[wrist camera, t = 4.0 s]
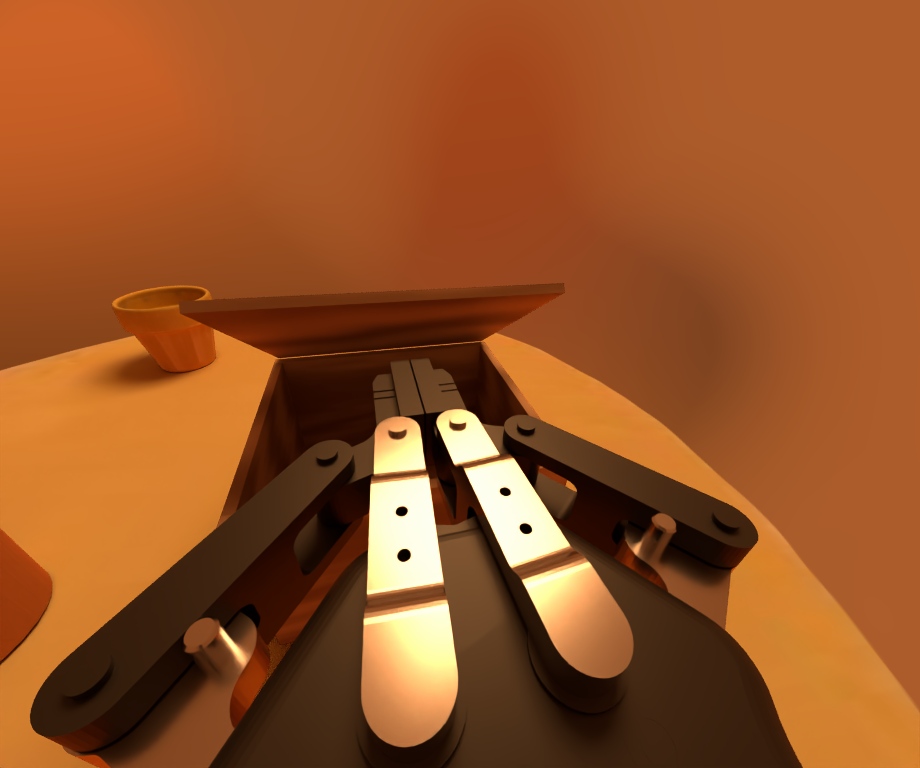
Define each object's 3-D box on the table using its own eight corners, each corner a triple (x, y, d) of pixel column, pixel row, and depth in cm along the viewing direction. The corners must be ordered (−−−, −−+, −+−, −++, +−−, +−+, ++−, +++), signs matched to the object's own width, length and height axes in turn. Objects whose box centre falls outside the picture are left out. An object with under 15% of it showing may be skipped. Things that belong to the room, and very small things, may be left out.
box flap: (564, 292, 18) (563, 283, 18) (179, 313, 14) (178, 301, 14) (481, 340, 33) (480, 335, 33) (279, 358, 29) (278, 352, 29)
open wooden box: (539, 577, 27) (572, 462, 20) (280, 644, 22) (216, 527, 16) (476, 438, 40) (484, 341, 33) (304, 464, 35) (275, 359, 29)
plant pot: (202, 340, 57) (178, 280, 52) (246, 354, 54) (225, 291, 49) (129, 368, 49) (92, 300, 44) (175, 387, 46) (141, 316, 41)
